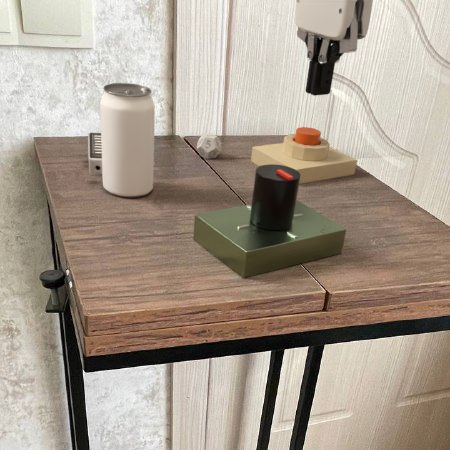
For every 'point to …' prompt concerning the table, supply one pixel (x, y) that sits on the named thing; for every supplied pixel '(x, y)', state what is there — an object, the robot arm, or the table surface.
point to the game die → (209, 146)
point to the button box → (306, 159)
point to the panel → (267, 239)
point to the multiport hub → (95, 154)
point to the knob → (274, 197)
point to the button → (307, 136)
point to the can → (127, 139)
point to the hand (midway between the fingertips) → (317, 93)
